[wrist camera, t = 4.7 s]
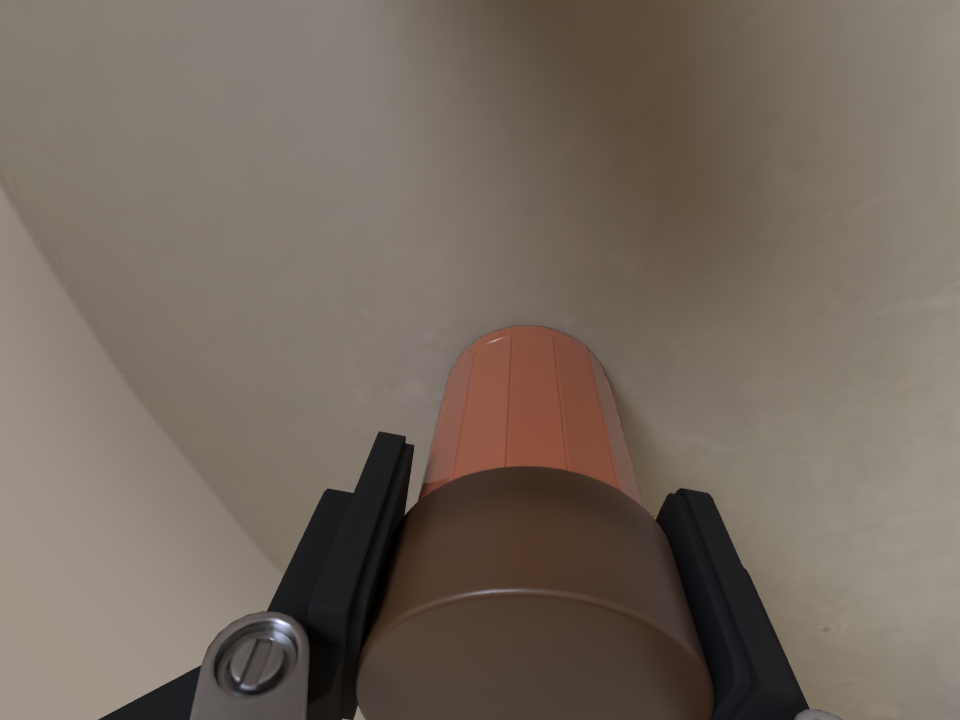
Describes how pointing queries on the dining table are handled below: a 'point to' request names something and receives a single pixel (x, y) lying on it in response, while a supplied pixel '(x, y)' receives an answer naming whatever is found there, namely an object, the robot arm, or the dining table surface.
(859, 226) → the dining table surface
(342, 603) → the robot arm
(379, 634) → the walnut chip
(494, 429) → the cup
